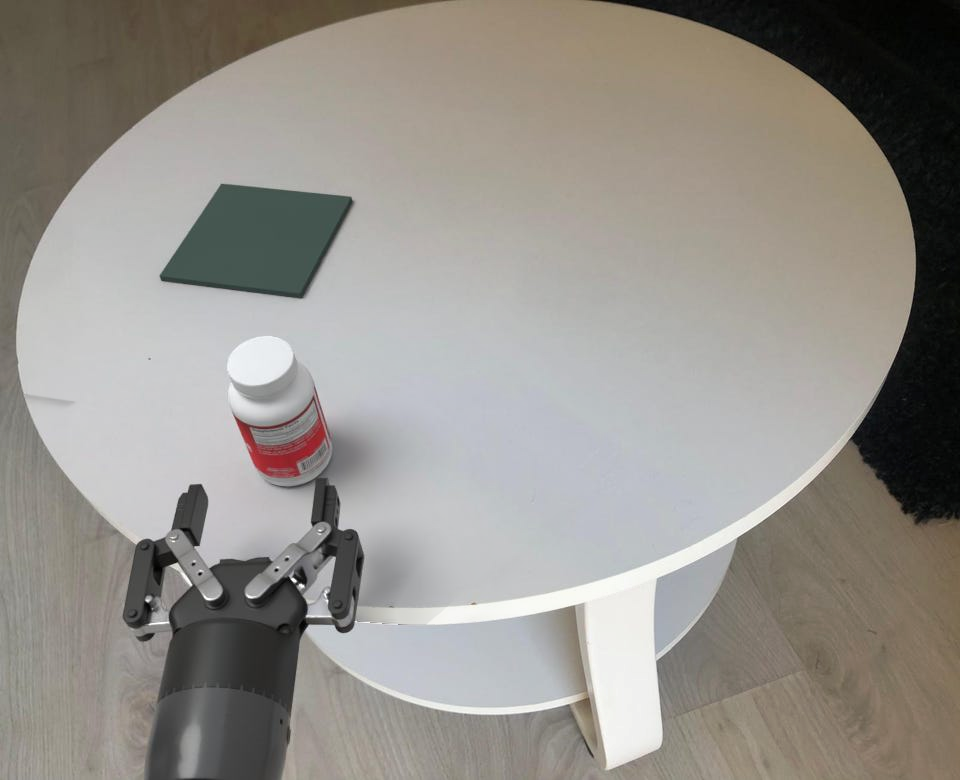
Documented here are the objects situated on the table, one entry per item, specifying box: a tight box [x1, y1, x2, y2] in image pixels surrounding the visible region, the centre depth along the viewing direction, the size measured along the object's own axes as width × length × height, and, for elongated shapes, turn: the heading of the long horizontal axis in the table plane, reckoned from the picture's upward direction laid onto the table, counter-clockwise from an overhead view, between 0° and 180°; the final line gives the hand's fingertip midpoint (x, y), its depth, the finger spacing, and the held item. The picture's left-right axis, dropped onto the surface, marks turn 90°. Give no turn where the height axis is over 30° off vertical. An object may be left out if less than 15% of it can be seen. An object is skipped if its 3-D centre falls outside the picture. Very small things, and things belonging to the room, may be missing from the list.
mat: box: [159, 183, 353, 299], centre depth 94 cm, size 14×14×1 cm
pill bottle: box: [226, 335, 333, 487], centre depth 73 cm, size 6×6×11 cm
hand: (261, 487), depth 67 cm, fingers open, 8 cm apart
